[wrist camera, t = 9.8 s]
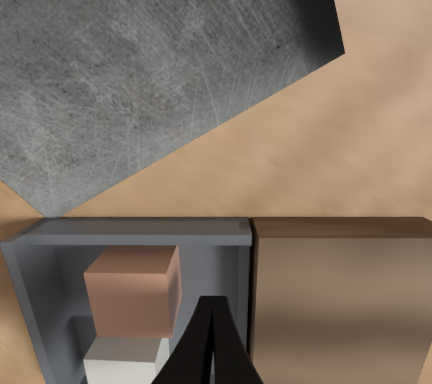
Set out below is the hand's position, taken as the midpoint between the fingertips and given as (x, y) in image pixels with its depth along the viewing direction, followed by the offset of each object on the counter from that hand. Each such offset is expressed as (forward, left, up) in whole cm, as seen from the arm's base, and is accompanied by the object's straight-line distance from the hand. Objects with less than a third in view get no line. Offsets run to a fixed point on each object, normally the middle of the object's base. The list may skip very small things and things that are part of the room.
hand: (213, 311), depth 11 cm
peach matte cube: (0, +4, 0) cm, 4 cm away
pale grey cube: (-6, +5, 0) cm, 8 cm away
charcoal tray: (-3, +4, -4) cm, 6 cm away
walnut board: (-3, -7, -4) cm, 9 cm away
